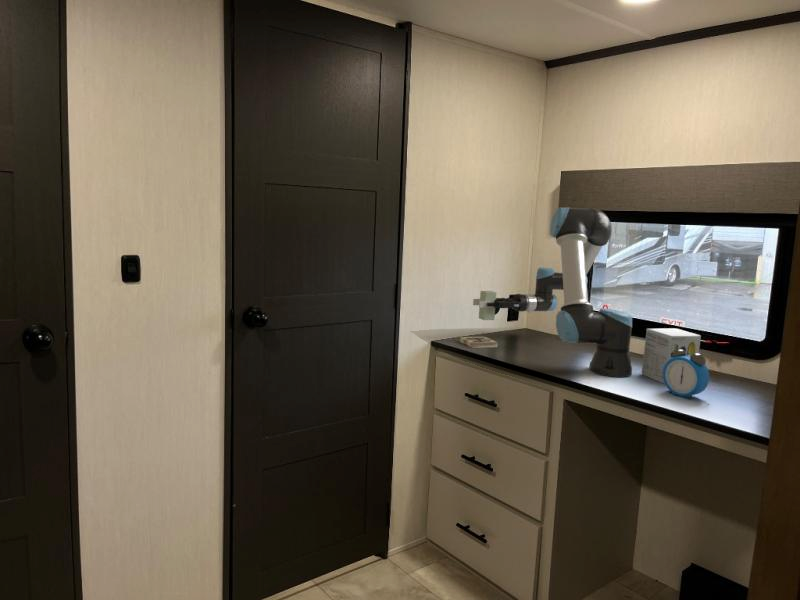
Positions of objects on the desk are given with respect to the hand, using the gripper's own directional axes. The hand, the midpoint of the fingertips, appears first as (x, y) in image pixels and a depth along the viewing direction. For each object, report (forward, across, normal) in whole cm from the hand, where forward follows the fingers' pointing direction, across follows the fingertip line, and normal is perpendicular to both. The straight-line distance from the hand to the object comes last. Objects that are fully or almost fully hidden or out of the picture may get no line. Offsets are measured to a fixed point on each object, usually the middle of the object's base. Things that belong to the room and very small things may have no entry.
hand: (476, 303), depth 260 cm
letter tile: (-2, -1, -18) cm, 18 cm away
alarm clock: (-37, -80, -18) cm, 90 cm away
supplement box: (-48, -62, -18) cm, 81 cm away
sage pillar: (-5, 0, -7) cm, 9 cm away
